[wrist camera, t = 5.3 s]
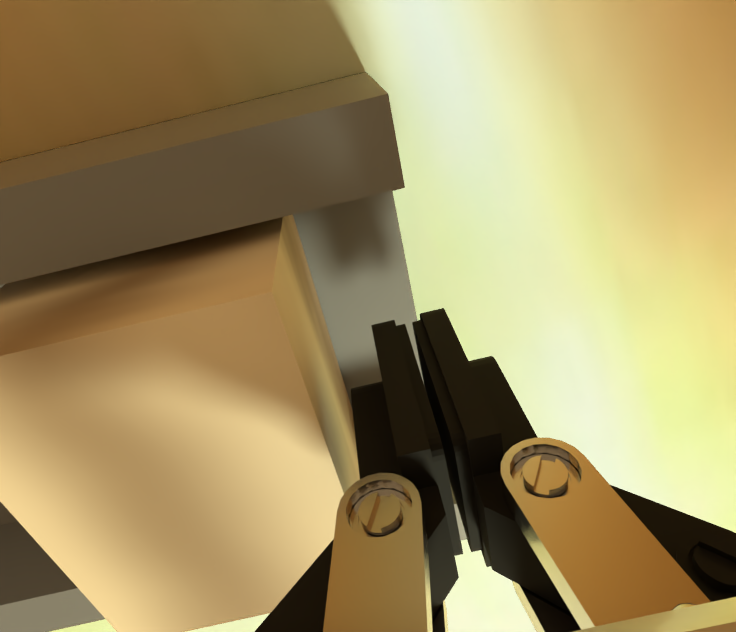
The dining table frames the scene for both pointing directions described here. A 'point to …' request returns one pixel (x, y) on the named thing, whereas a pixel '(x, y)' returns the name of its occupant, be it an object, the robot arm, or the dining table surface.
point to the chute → (208, 216)
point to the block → (176, 426)
